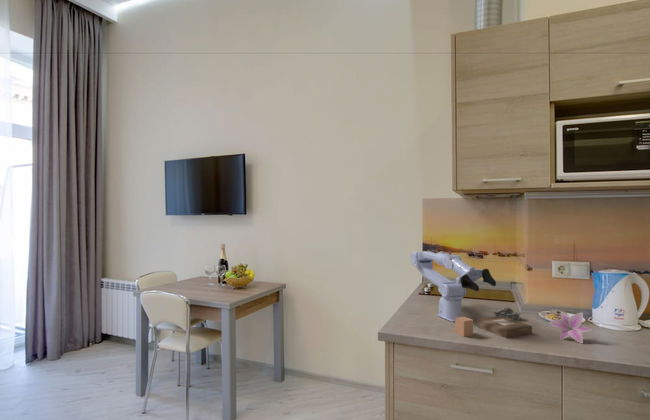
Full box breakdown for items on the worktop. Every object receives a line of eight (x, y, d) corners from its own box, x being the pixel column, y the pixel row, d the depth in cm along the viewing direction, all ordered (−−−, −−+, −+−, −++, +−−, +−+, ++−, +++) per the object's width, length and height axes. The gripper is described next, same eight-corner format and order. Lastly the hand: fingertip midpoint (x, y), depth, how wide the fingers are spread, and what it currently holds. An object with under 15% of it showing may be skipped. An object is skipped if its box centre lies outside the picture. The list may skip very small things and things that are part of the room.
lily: (544, 336, 140) (546, 318, 136) (563, 321, 144) (565, 304, 140) (576, 356, 130) (579, 337, 126) (595, 340, 134) (599, 321, 130)
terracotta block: (455, 332, 139) (455, 317, 139) (464, 331, 141) (464, 316, 141) (463, 336, 135) (464, 321, 135) (472, 335, 137) (473, 319, 137)
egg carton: (509, 315, 165) (510, 306, 165) (523, 320, 157) (523, 311, 157) (490, 317, 161) (491, 308, 161) (503, 322, 154) (503, 312, 154)
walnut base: (477, 326, 147) (477, 318, 147) (501, 322, 152) (501, 315, 152) (506, 338, 134) (506, 329, 134) (531, 333, 140) (531, 325, 140)
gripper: (449, 266, 147) (470, 282, 135) (479, 258, 150) (502, 272, 138) (449, 281, 150) (470, 297, 137) (479, 272, 153) (502, 288, 140)
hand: (486, 286), depth 137 cm, fingers open, 7 cm apart
